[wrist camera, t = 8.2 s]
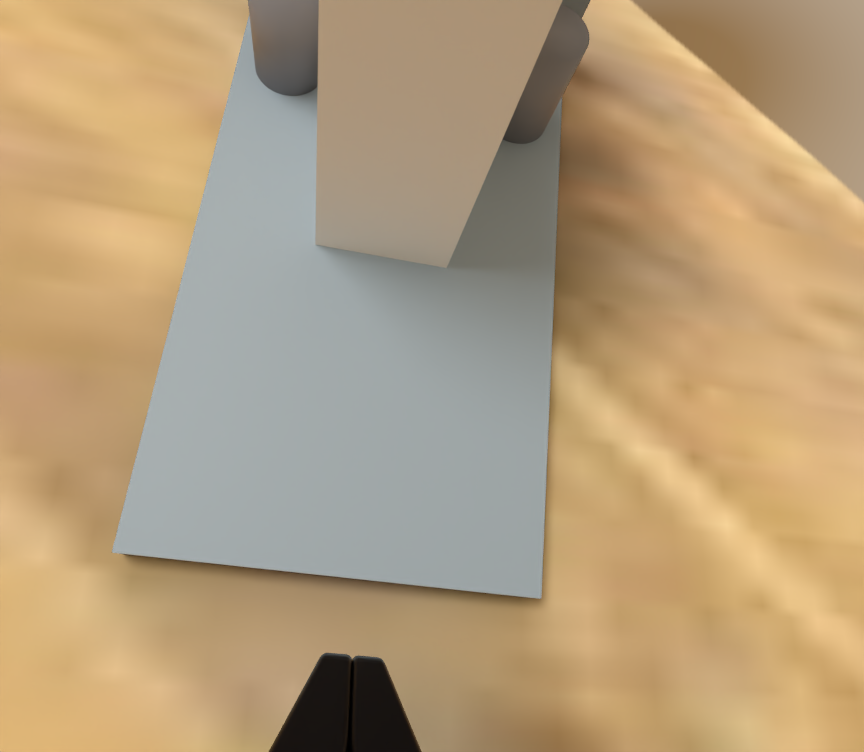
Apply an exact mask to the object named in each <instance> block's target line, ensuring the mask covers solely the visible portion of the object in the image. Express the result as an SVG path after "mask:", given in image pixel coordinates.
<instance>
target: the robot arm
mask: <svg viewBox="0 0 864 752" xmlns="http://www.w3.org/2000/svg"><path fill="white" fill-rule="evenodd" d="M269 752H421V749H420V747H419V744H418V742H417V740H416V737H415V735H414V732H413V730H412V728H411V725H410V723H409V720H408V718H407V716H406V713H405V711H404V708H403V706H402V704H401V701H400V699H399V696H398V694H397V692H396V689H395V687H394V684H393V682H392V679H391V677H390V675H389V672H388V670H387V667H386V665H385V663H384V662H383V660H382V659H381V658H378V657H368V656H355V657H354V658H353V659H351V657H350V656H349V655H346V654H335V653H325V654H323V655H322V656H321V657H320V659H319V660H318V662H317V664H316V666H315V668H314V669H313V671H312V673H311V675H310V677H309V679H308V680H307V682H306V684H305V686H304V688H303V690H302V692H301V693H300V695H299V697H298V699H297V701H296V703H295V704H294V706H293V708H292V710H291V712H290V714H289V715H288V717H287V719H286V721H285V723H284V725H283V726H282V728H281V730H280V732H279V734H278V736H277V737H276V739H275V741H274V743H273V745H272V747H271V748H270V750H269Z"/></svg>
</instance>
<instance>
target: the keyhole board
mask: <svg viewBox="0 0 864 752" xmlns="http://www.w3.org/2000/svg"><path fill="white" fill-rule="evenodd" d="M589 2H590V0H562V3H561V5H560V7H559V10H558V12H557V14H556V17H555V19H554V21H553V24H552V26H551V28H550V30H549V33H548V35H547V37H546V40H545V42H544V44H543V47H542V49H541V51H540V54H539V56H538V58H537V60H536V63H535V65H534V67H533V70H532V72H531V74H530V77H529V79H528V81H527V84H526V86H525V88H524V91H523V93H522V95H521V97H520V100H519V102H518V104H517V107H516V109H515V111H514V114H513V116H512V118H511V121H510V123H509V125H508V127H507V130H506V132H505V134H504V137H503V139H502V141H501V144H500V146H499V148H498V151H497V153H496V155H495V157H494V160H493V162H492V164H491V167H490V169H489V171H488V174H487V176H486V178H485V181H484V183H483V185H482V187H481V190H480V192H479V194H478V197H477V199H476V201H475V204H474V206H473V208H472V211H471V213H470V215H469V218H468V220H467V222H466V224H465V227H464V229H463V231H462V234H461V236H460V238H459V241H458V243H457V245H456V248H455V250H454V252H453V254H452V257H451V259H450V261H449V264H448V266H447V268H443V267H438V266H432V265H426V264H421V263H415V262H410V261H404V260H398V259H393V258H387V257H382V256H376V255H370V254H365V253H359V252H354V251H348V250H342V249H337V248H331V247H326V246H320V245H315V235H316V163H317V90H318V18H319V0H248V6H249V18H248V22H247V26H246V29H245V33H244V37H243V41H242V45H241V49H240V53H239V57H238V61H237V65H236V69H235V72H234V76H233V80H232V84H231V88H230V92H229V96H228V100H227V104H226V108H225V112H224V116H223V119H222V123H221V127H220V131H219V135H218V139H217V143H216V147H215V151H214V155H213V159H212V162H211V166H210V170H209V174H208V178H207V182H206V186H205V190H204V194H203V198H202V202H201V206H200V209H199V213H198V217H197V221H196V225H195V229H194V233H193V237H192V241H191V245H190V249H189V252H188V256H187V260H186V264H185V268H184V272H183V276H182V280H181V284H180V288H179V292H178V295H177V299H176V303H175V307H174V311H173V315H172V319H171V323H170V327H169V331H168V335H167V339H166V342H165V346H164V350H163V354H162V358H161V362H160V366H159V370H158V374H157V378H156V382H155V385H154V389H153V393H152V397H151V401H150V405H149V409H148V413H147V417H146V421H145V425H144V428H143V432H142V436H141V440H140V444H139V448H138V452H137V456H136V460H135V464H134V468H133V472H132V475H131V479H130V483H129V487H128V491H127V495H126V499H125V503H124V507H123V511H122V515H121V518H120V522H119V526H118V530H117V534H116V538H115V542H114V546H113V550H112V553H119V554H127V555H137V556H146V557H155V558H164V559H174V560H183V561H192V562H202V563H211V564H220V565H229V566H239V567H248V568H257V569H267V570H276V571H285V572H294V573H304V574H313V575H322V576H331V577H341V578H350V579H359V580H369V581H378V582H387V583H396V584H406V585H415V586H424V587H434V588H443V589H452V590H461V591H471V592H480V593H489V594H498V595H508V596H517V597H526V598H538V599H541V594H542V570H543V546H544V522H545V498H546V474H547V450H548V426H549V402H550V378H551V354H552V330H553V306H554V282H555V258H556V234H557V210H558V186H559V162H560V138H561V114H562V95H563V93H564V92H565V90H566V88H567V86H568V84H569V82H570V80H571V78H572V76H573V74H574V72H575V70H576V68H577V66H578V64H579V63H580V61H581V59H582V57H583V55H584V53H585V51H586V49H587V47H588V44H589V32H588V29H587V26H586V25H585V23H584V21H583V20H582V17H583V15H584V12H585V10H586V8H587V6H588V4H589Z"/></svg>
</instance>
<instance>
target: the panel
mask: <svg viewBox="0 0 864 752" xmlns="http://www.w3.org/2000/svg"><path fill="white" fill-rule="evenodd" d="M561 3H562V0H319V18H318V90H317V163H316V235H315V245H320V246H326V247H331V248H337V249H342V250H348V251H354V252H359V253H365V254H370V255H376V256H382V257H387V258H393V259H398V260H404V261H410V262H415V263H421V264H426V265H432V266H438V267H443V268H447V266H448V264H449V261H450V259H451V257H452V254H453V252H454V250H455V248H456V245H457V243H458V241H459V238H460V236H461V234H462V231H463V229H464V227H465V224H466V222H467V220H468V218H469V215H470V213H471V211H472V208H473V206H474V204H475V201H476V199H477V197H478V194H479V192H480V190H481V187H482V185H483V183H484V181H485V178H486V176H487V174H488V171H489V169H490V167H491V164H492V162H493V160H494V157H495V155H496V153H497V151H498V148H499V146H500V144H501V141H502V139H503V137H504V134H505V132H506V130H507V127H508V125H509V123H510V121H511V118H512V116H513V114H514V111H515V109H516V107H517V104H518V102H519V100H520V97H521V95H522V93H523V91H524V88H525V86H526V84H527V81H528V79H529V77H530V74H531V72H532V70H533V67H534V65H535V63H536V60H537V58H538V56H539V54H540V51H541V49H542V47H543V44H544V42H545V40H546V37H547V35H548V33H549V30H550V28H551V26H552V24H553V21H554V19H555V17H556V14H557V12H558V10H559V7H560V5H561Z"/></svg>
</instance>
